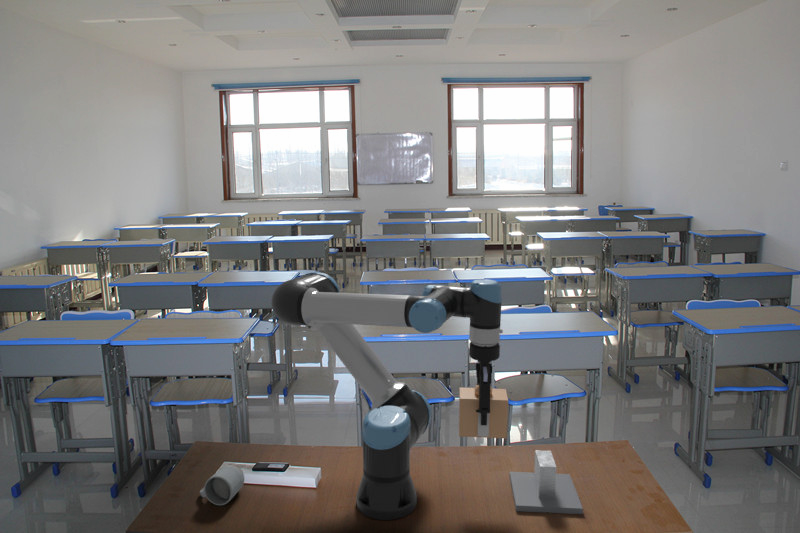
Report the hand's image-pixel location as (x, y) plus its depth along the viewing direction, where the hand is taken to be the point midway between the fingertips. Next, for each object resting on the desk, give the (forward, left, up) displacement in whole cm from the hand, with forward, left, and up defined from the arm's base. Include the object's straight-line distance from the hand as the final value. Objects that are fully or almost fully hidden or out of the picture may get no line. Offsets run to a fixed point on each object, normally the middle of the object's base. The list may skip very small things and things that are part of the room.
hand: (482, 428), depth 147 cm
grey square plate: (+16, 0, -18) cm, 24 cm away
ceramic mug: (-66, -8, -18) cm, 69 cm away
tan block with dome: (0, 0, -1) cm, 1 cm away
